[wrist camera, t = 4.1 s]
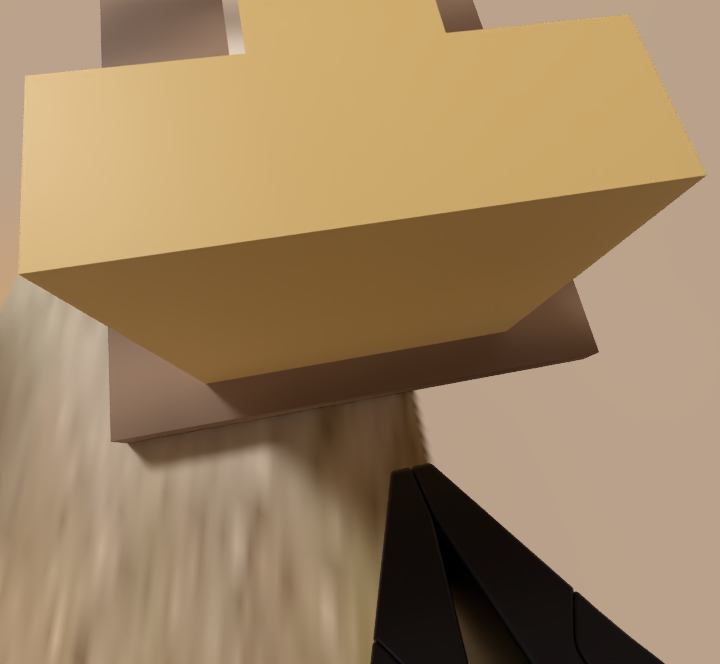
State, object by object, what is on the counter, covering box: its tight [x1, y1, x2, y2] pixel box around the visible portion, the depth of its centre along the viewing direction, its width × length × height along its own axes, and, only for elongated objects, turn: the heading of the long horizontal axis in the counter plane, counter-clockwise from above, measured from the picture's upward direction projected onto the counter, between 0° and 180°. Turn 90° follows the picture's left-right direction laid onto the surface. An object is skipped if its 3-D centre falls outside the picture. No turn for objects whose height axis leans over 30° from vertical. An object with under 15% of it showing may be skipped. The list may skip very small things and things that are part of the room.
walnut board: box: [100, 0, 599, 443], centre depth 21 cm, size 25×19×1 cm
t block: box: [18, 0, 706, 384], centre depth 14 cm, size 12×12×10 cm
